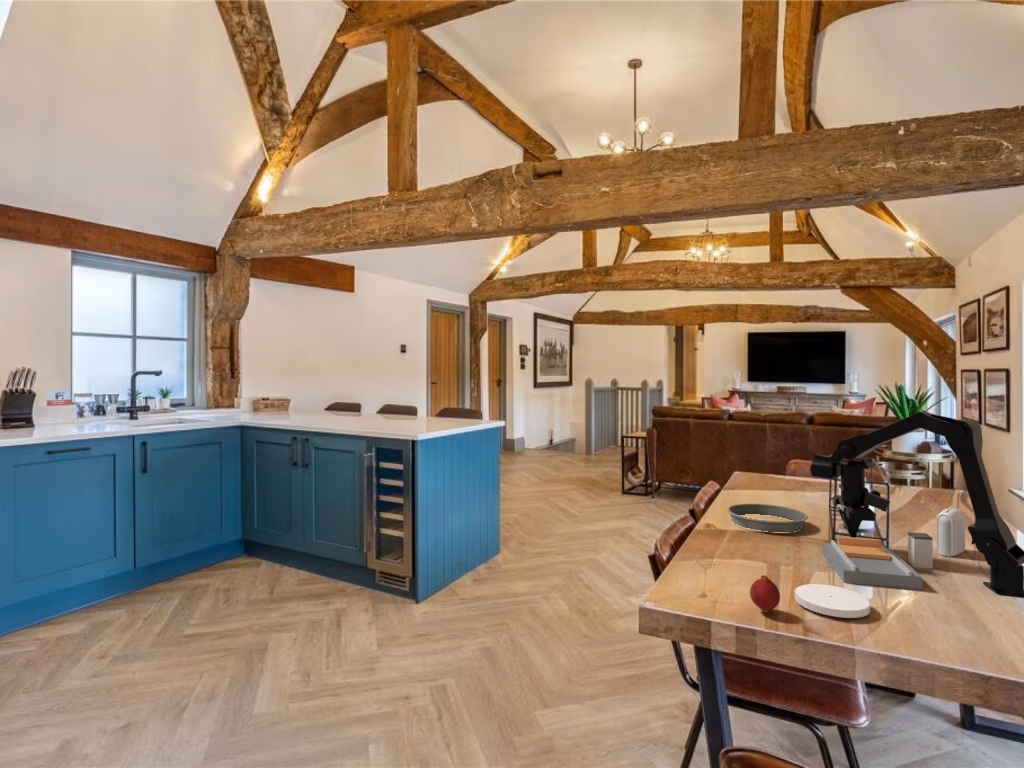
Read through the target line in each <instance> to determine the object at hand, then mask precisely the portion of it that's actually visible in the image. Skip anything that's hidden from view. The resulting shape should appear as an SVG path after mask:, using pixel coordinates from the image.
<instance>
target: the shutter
mask: <svg viewBox="0 0 1024 768" xmlns="http://www.w3.org/2000/svg"><path fill="white" fill-rule="evenodd" d="M836 539H837V543H836V544H837V545H838V546H839V547H840V549H841V550H842V551H843V552H844V553H845V554H846V556H848V557H860V558H872V559H884V560H891V556H890V555H889V554H888V553H887V552H886V551H884V550H883V549H882V548H881V545H882V540H881V539H880V538H876V539H875V538H865V537H864V538H863V537H856V538H854V537H850V536H837V538H836Z"/></svg>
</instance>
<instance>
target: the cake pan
mask: <svg viewBox="0 0 1024 768" xmlns="http://www.w3.org/2000/svg"><path fill="white" fill-rule="evenodd" d="M726 510H727V513H729V514H730V517H731V518H730V519H731V522H732V521H733V522H734V523H735V524H737V525H739V526H742V527H745V528H750V529H755V530H761V531H768V532H794V531H798V530H800V529H801V530H802V529H803V526H804V523H805V521H807V520H808V518H809V516H808V514H807V513H806V512H804V511H801V510H798V509H795V508H791V507H787V506H782V505H777V504H776V505H775V504H767V503H766V504H765V503H738V504H733V505H730V506H728V507H727V509H726ZM745 514H760V515H771V516H777V517H782V518H786V519H789V520H793V521H787V520H782V521H780V520H769V521H767V520H768V519H767V520H758V519H752V518H747V517H743V516H740V515H745ZM801 530H800V531H801ZM798 532H799V531H798ZM794 533H795V532H794Z"/></svg>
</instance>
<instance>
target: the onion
mask: <svg viewBox="0 0 1024 768" xmlns="http://www.w3.org/2000/svg"><path fill="white" fill-rule="evenodd" d="M749 596H750V599H751V601H752V603H753V604H754V605H755V606H756V607H757V608H759V609H760V611H761V610H763V611H768V612H770V611H772V610H774V609H775V608H776V607H778V605H779V603H780V601H781V593H780V590H779V588H778V587H777V585H776V584H775V583H774V582H773V581H772V580H771V579H770V578H769V577H768V575H766V574H761V575H760V578H758V579H756V580H754V581H753V583H752V584H751V587H750V589H749ZM763 611H762V612H763Z"/></svg>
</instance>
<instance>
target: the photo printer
mask: <svg viewBox="0 0 1024 768" xmlns="http://www.w3.org/2000/svg"><path fill="white" fill-rule="evenodd" d="M965 551H966V516H965V514H964V512H963V511H962V510H960V509H959V508H953V507H949V508H945V509H943V510H942V511H941V512H940V513H939V514H938V515H937V519H936V552H937V554H939V555H940V556H945V557H949V558H950V557H955V556H957V555H959V554H961V553H964V552H965Z"/></svg>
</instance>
